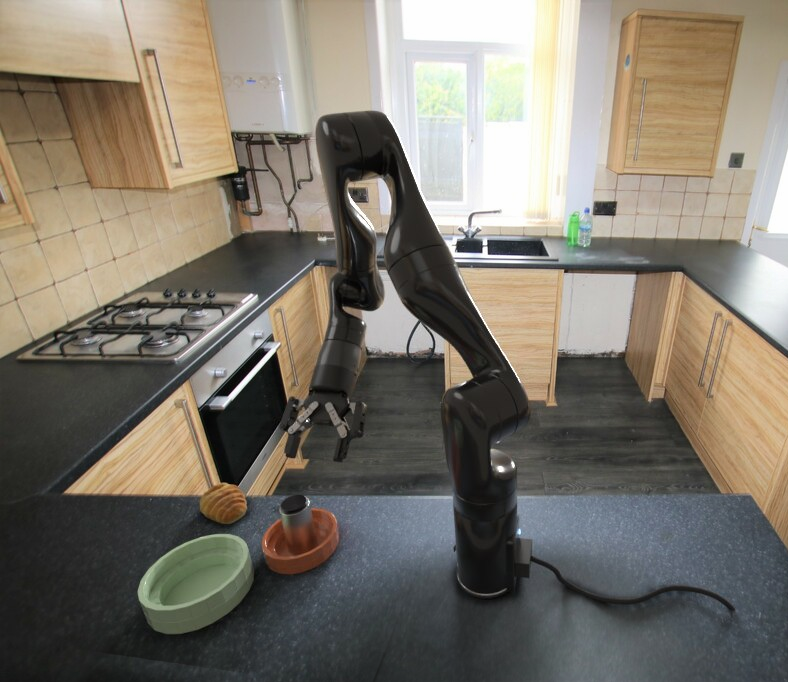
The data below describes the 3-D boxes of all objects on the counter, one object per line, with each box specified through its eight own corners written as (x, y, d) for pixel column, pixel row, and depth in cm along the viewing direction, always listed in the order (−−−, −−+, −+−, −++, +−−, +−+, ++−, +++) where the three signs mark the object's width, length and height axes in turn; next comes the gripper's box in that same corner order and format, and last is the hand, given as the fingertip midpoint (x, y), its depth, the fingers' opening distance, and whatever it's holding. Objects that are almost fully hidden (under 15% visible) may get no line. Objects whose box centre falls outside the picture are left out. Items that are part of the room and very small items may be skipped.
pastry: (258, 512, 86) (254, 495, 84) (219, 534, 81) (213, 516, 79) (235, 491, 91) (230, 474, 90) (197, 510, 86) (191, 494, 85)
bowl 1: (273, 562, 75) (267, 537, 73) (212, 643, 63) (203, 616, 61) (197, 553, 77) (189, 529, 75) (122, 631, 64) (111, 604, 62)
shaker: (322, 537, 79) (314, 494, 76) (308, 558, 75) (299, 513, 72) (298, 535, 80) (288, 491, 76) (283, 555, 76) (272, 510, 72)
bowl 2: (351, 527, 82) (348, 511, 81) (318, 580, 72) (314, 563, 70) (291, 521, 83) (287, 505, 82) (250, 572, 73) (245, 555, 72)
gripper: (289, 360, 83) (261, 452, 77) (366, 364, 81) (344, 459, 75) (310, 374, 90) (286, 460, 84) (381, 378, 88) (362, 466, 82)
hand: (313, 459), depth 79 cm, fingers open, 8 cm apart
